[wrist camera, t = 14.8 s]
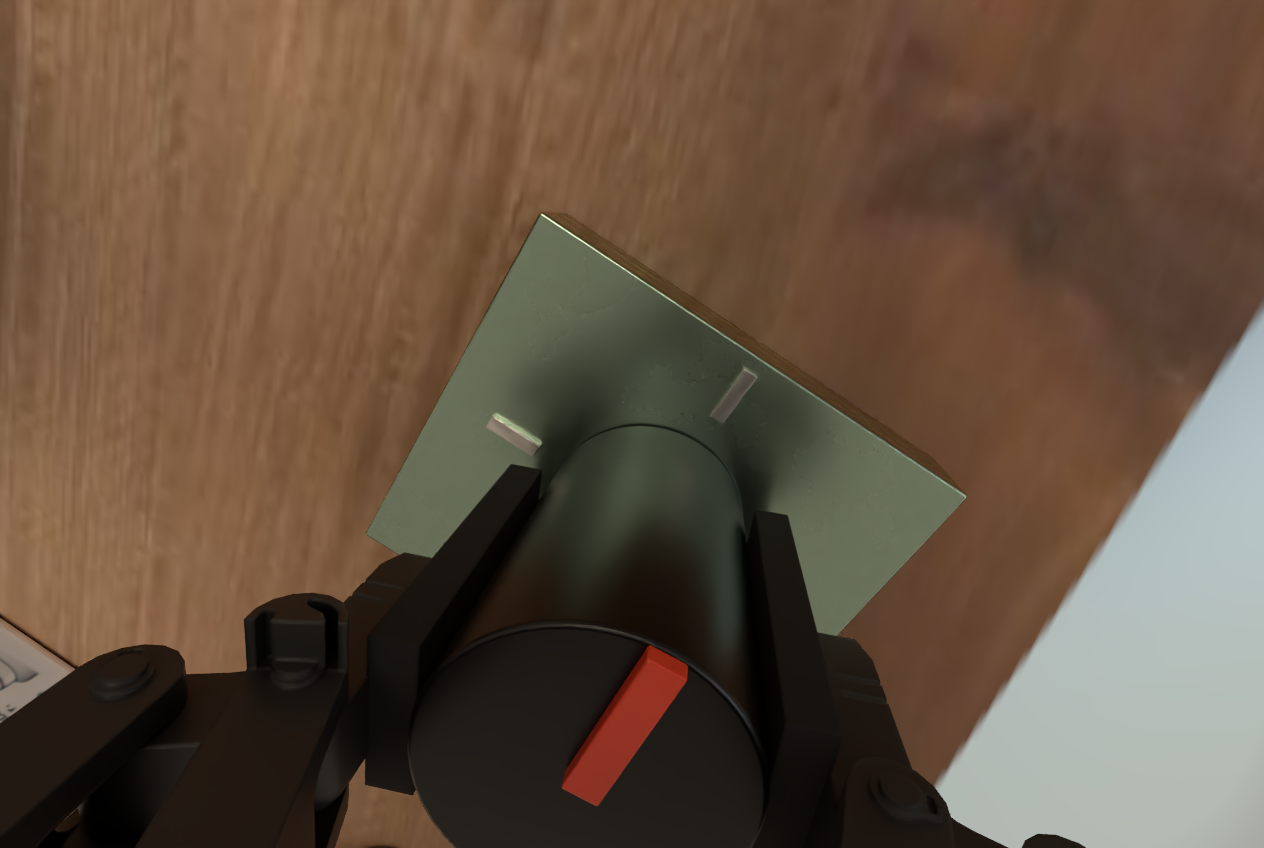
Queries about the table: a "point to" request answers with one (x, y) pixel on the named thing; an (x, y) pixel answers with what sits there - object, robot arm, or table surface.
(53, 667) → the container
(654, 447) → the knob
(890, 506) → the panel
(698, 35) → the table surface
